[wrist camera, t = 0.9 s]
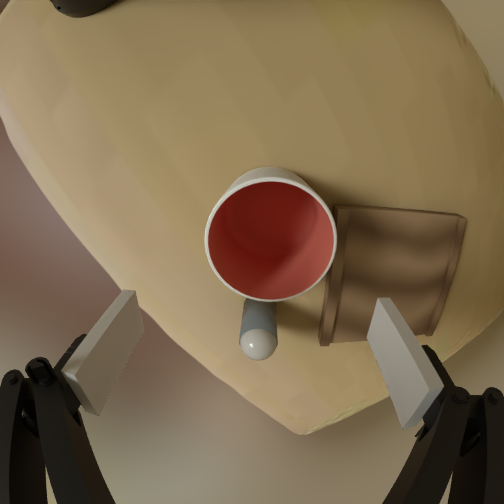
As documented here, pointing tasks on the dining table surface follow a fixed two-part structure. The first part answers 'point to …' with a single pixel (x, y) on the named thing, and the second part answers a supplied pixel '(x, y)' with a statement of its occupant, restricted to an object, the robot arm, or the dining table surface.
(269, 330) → the shaker
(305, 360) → the dining table surface
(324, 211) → the cup
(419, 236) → the board
